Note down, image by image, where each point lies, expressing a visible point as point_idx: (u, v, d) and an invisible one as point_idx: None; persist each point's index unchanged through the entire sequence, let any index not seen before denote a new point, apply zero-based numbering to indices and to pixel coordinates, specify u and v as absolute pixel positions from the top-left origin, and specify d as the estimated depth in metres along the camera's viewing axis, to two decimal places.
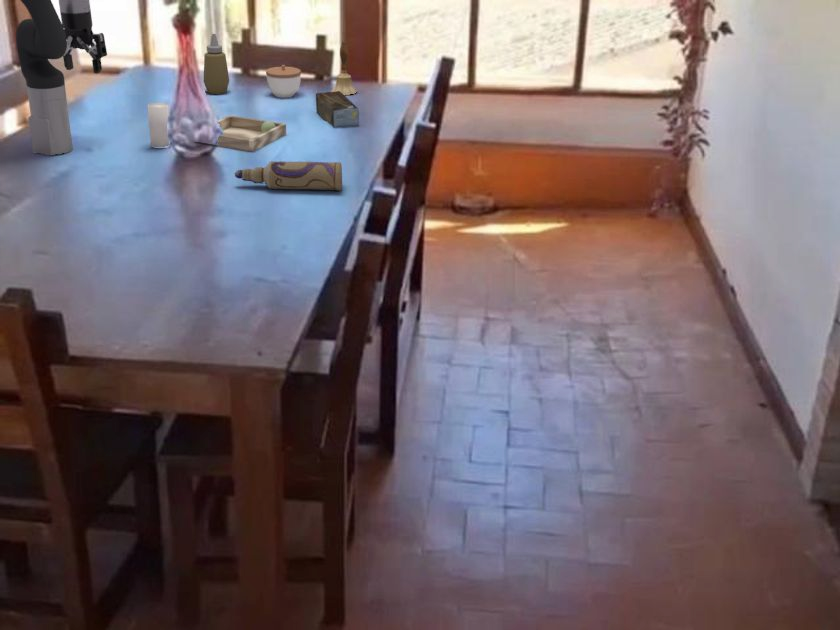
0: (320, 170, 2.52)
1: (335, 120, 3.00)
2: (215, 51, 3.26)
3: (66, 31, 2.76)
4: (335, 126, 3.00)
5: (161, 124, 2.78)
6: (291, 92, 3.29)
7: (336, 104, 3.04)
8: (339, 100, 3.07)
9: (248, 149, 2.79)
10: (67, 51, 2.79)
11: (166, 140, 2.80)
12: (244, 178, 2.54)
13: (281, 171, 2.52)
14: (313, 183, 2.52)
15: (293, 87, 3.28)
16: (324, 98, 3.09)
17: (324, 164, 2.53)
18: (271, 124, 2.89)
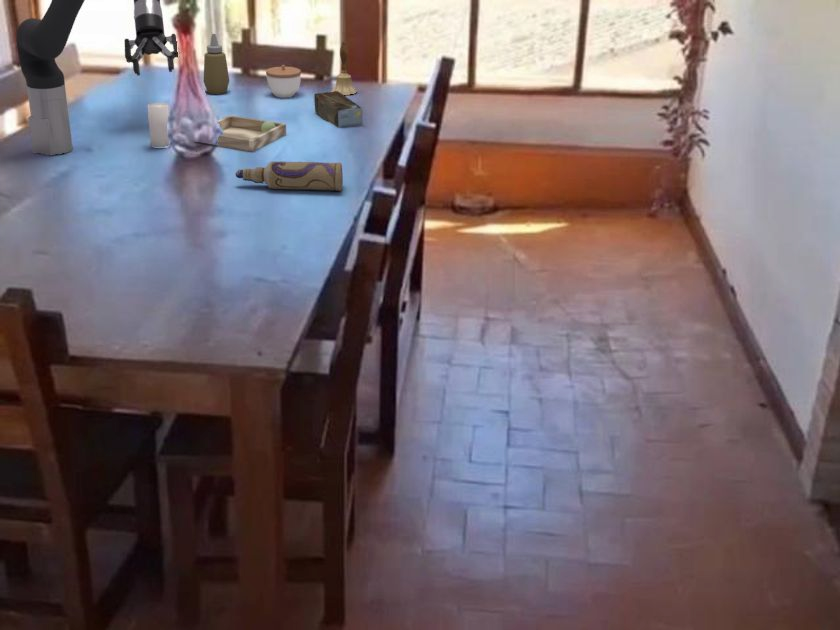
0: (320, 170, 2.52)
1: (339, 120, 3.00)
2: (215, 51, 3.26)
3: None
4: (339, 126, 3.01)
5: (161, 124, 2.78)
6: (291, 92, 3.29)
7: (338, 104, 3.04)
8: (340, 100, 3.07)
9: (248, 149, 2.79)
10: (166, 56, 2.89)
11: (166, 140, 2.80)
12: (244, 178, 2.54)
13: (281, 171, 2.52)
14: (313, 183, 2.52)
15: (293, 87, 3.28)
16: (324, 98, 3.08)
17: (324, 164, 2.53)
18: (271, 124, 2.89)
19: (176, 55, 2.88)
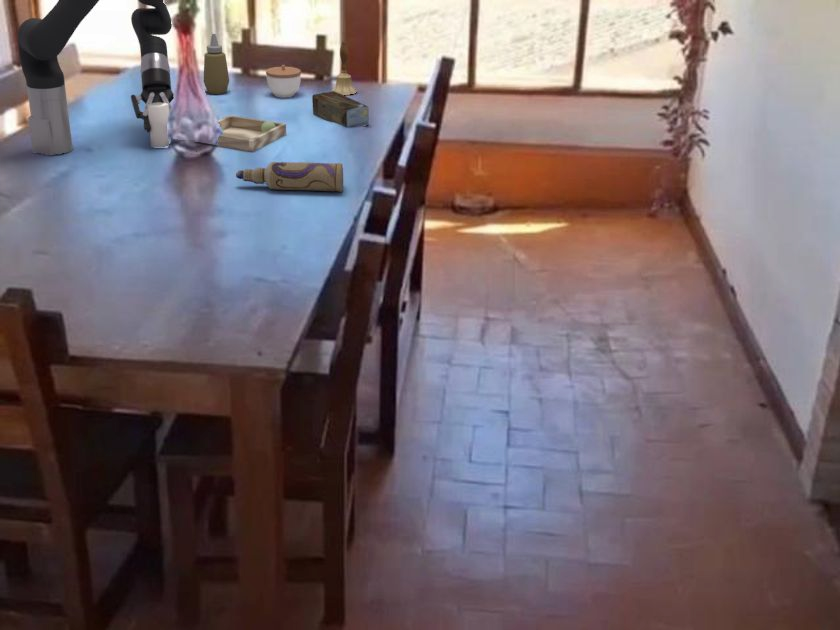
0: (321, 171, 2.51)
1: (348, 120, 3.00)
2: (215, 51, 3.26)
3: None
4: (348, 126, 3.01)
5: (161, 124, 2.78)
6: (291, 92, 3.29)
7: (343, 104, 3.04)
8: (342, 100, 3.07)
9: (248, 149, 2.79)
10: None
11: (166, 140, 2.80)
12: (245, 178, 2.54)
13: (282, 172, 2.51)
14: (314, 184, 2.52)
15: (293, 87, 3.28)
16: (326, 99, 3.08)
17: (325, 165, 2.52)
18: (271, 124, 2.89)
19: None
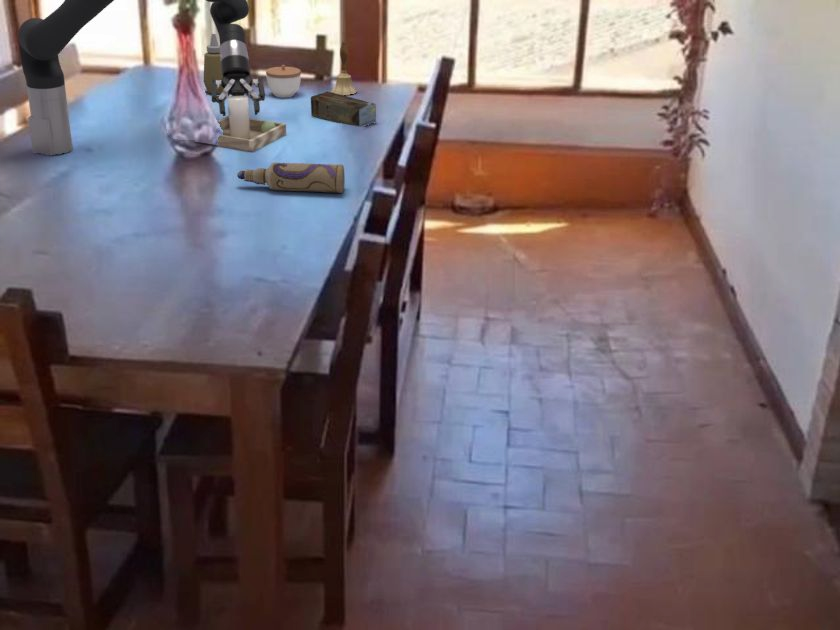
0: (321, 172, 2.51)
1: (360, 119, 3.02)
2: (215, 51, 3.26)
3: None
4: (360, 124, 3.03)
5: (241, 116, 2.84)
6: (291, 92, 3.29)
7: (349, 103, 3.05)
8: (345, 99, 3.08)
9: (248, 149, 2.79)
10: (251, 98, 2.88)
11: (246, 132, 2.87)
12: (246, 179, 2.54)
13: (282, 172, 2.51)
14: (315, 185, 2.51)
15: (293, 87, 3.28)
16: (328, 100, 3.07)
17: (326, 166, 2.52)
18: (271, 124, 2.89)
19: (262, 98, 2.87)
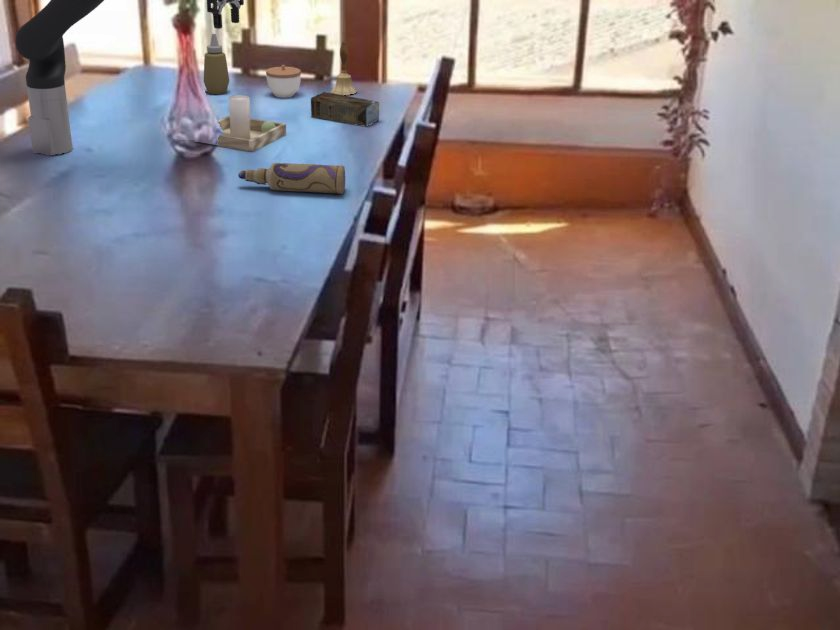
0: (321, 173, 2.50)
1: (367, 117, 3.03)
2: (215, 51, 3.26)
3: None
4: (367, 123, 3.04)
5: (243, 117, 2.84)
6: (291, 92, 3.29)
7: (353, 102, 3.06)
8: (346, 99, 3.09)
9: (248, 149, 2.79)
10: (229, 3, 2.89)
11: (246, 132, 2.87)
12: (247, 179, 2.54)
13: (283, 173, 2.51)
14: (315, 185, 2.51)
15: (293, 87, 3.28)
16: (330, 100, 3.07)
17: (326, 167, 2.51)
18: (271, 124, 2.89)
19: None
